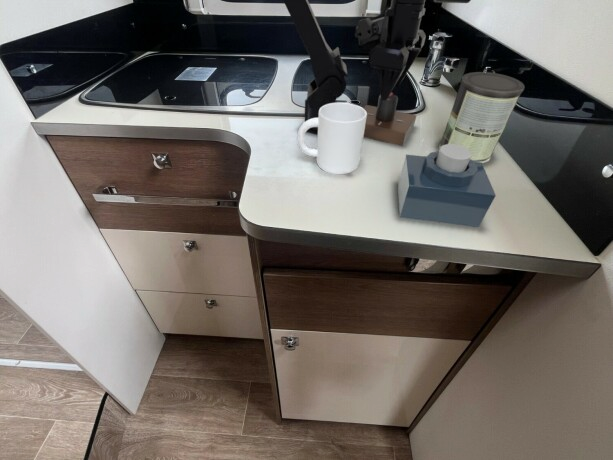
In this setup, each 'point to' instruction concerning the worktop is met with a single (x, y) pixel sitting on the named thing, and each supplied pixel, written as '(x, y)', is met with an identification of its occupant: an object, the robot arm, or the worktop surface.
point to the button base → (443, 192)
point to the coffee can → (481, 112)
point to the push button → (453, 158)
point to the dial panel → (388, 126)
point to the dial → (386, 108)
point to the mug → (336, 137)
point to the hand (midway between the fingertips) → (390, 92)
